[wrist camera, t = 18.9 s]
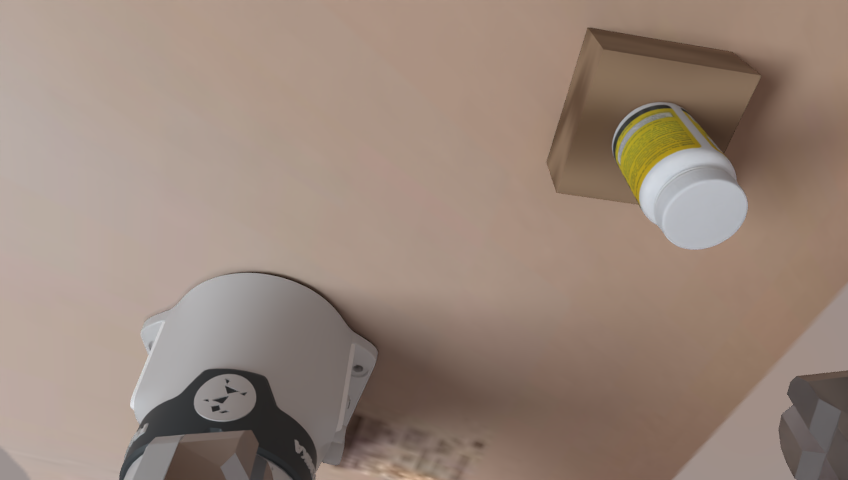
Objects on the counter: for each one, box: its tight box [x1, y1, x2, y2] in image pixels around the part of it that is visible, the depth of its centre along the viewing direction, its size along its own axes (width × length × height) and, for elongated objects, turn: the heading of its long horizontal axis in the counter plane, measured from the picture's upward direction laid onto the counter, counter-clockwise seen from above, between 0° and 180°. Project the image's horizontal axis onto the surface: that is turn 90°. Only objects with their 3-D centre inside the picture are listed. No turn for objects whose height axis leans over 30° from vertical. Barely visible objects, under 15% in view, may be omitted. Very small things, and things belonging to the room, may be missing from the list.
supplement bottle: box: [612, 102, 748, 250], centre depth 33 cm, size 5×5×8 cm
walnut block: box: [547, 28, 761, 205], centre depth 38 cm, size 9×9×4 cm
